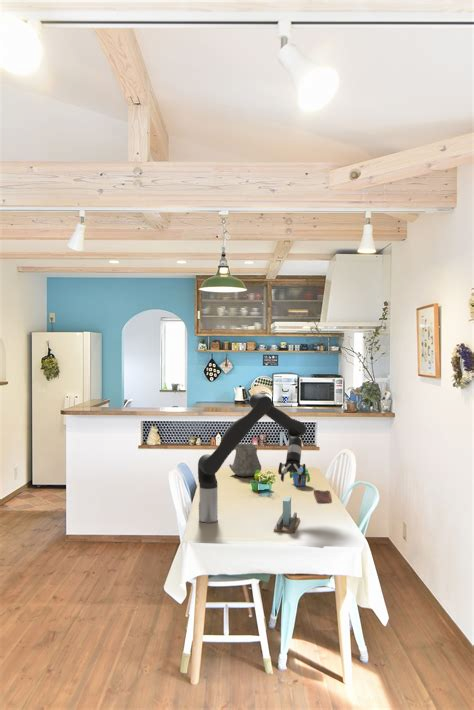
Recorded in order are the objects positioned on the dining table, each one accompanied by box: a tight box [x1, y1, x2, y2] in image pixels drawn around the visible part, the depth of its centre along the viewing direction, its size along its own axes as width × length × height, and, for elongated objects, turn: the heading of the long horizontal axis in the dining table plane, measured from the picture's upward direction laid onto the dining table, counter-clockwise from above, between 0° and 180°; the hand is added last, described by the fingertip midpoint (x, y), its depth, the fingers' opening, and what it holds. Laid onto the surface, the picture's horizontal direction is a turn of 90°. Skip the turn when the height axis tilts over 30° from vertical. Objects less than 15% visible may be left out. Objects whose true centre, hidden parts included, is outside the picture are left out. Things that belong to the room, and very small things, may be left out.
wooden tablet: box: [313, 489, 333, 505], centre depth 318 cm, size 26×2×10 cm
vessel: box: [228, 444, 262, 478], centre depth 371 cm, size 22×22×20 cm
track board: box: [273, 512, 301, 534], centre depth 269 cm, size 10×20×4 cm, turn 166°
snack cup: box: [289, 467, 311, 487], centre depth 344 cm, size 16×10×10 cm
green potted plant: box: [249, 470, 263, 492], centre depth 335 cm, size 11×9×11 cm
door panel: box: [282, 496, 292, 526], centre depth 269 cm, size 3×7×12 cm, turn 166°
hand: (290, 481), depth 281 cm, fingers open, 8 cm apart
